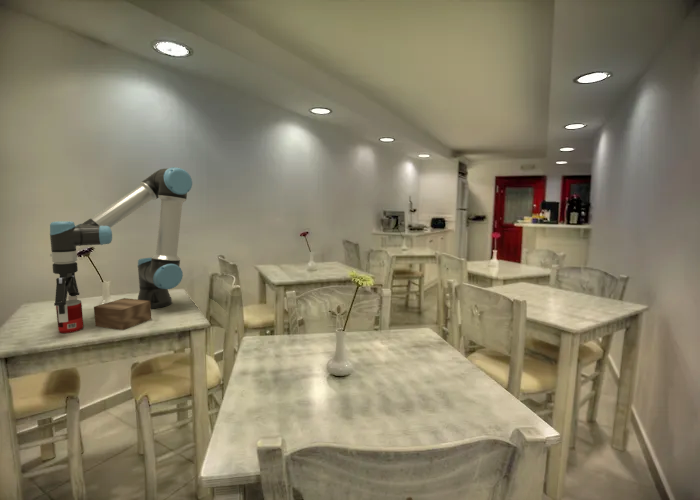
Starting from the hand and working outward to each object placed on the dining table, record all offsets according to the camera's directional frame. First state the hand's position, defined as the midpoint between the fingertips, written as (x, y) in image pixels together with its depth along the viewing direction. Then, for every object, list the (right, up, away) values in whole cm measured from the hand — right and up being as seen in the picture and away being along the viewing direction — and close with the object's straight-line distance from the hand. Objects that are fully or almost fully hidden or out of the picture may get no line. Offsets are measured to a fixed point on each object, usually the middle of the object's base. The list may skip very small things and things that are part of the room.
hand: (68, 316), depth 146 cm
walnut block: (+16, -4, +10) cm, 19 cm away
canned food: (0, -5, +1) cm, 5 cm away
